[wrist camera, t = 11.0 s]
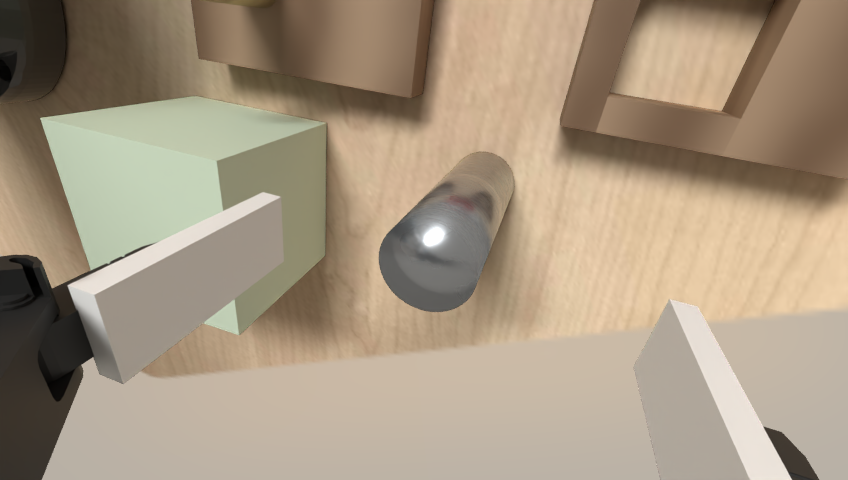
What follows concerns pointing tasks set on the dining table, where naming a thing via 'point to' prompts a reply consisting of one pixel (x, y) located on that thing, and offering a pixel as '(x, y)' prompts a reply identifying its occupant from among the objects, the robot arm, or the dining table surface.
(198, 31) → the board
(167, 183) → the pale green cube
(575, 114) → the square hole block
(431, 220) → the peg
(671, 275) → the dining table surface
